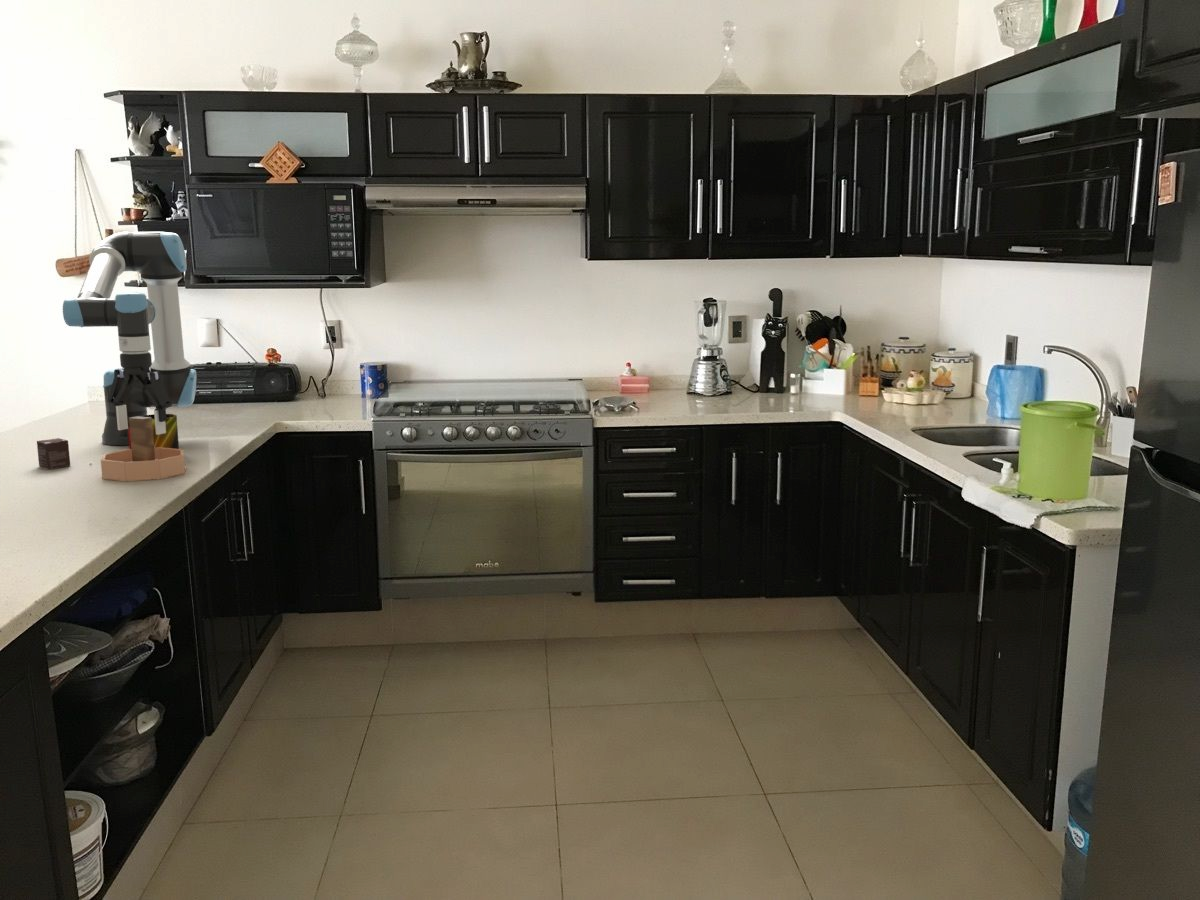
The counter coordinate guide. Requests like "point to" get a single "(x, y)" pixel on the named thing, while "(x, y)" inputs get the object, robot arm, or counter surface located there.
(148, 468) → the octagonal terracotta bowl
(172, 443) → the mug
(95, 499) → the counter surface
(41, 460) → the box
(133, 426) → the wooden rectangular block
